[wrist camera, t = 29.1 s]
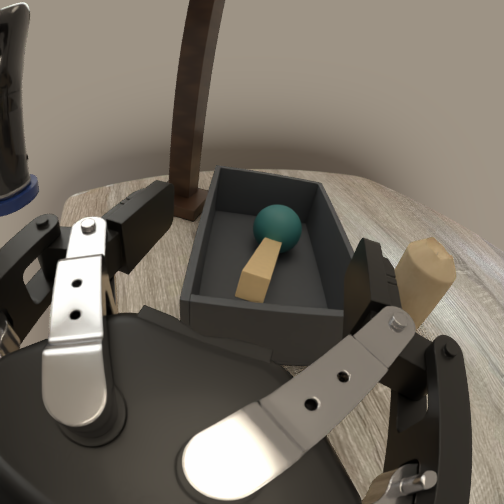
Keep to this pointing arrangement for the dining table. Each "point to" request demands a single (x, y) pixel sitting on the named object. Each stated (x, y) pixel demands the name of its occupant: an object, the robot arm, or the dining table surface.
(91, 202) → the dining table surface
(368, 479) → the dining table surface
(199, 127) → the stand
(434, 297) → the candle
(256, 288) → the rattle
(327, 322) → the bin
